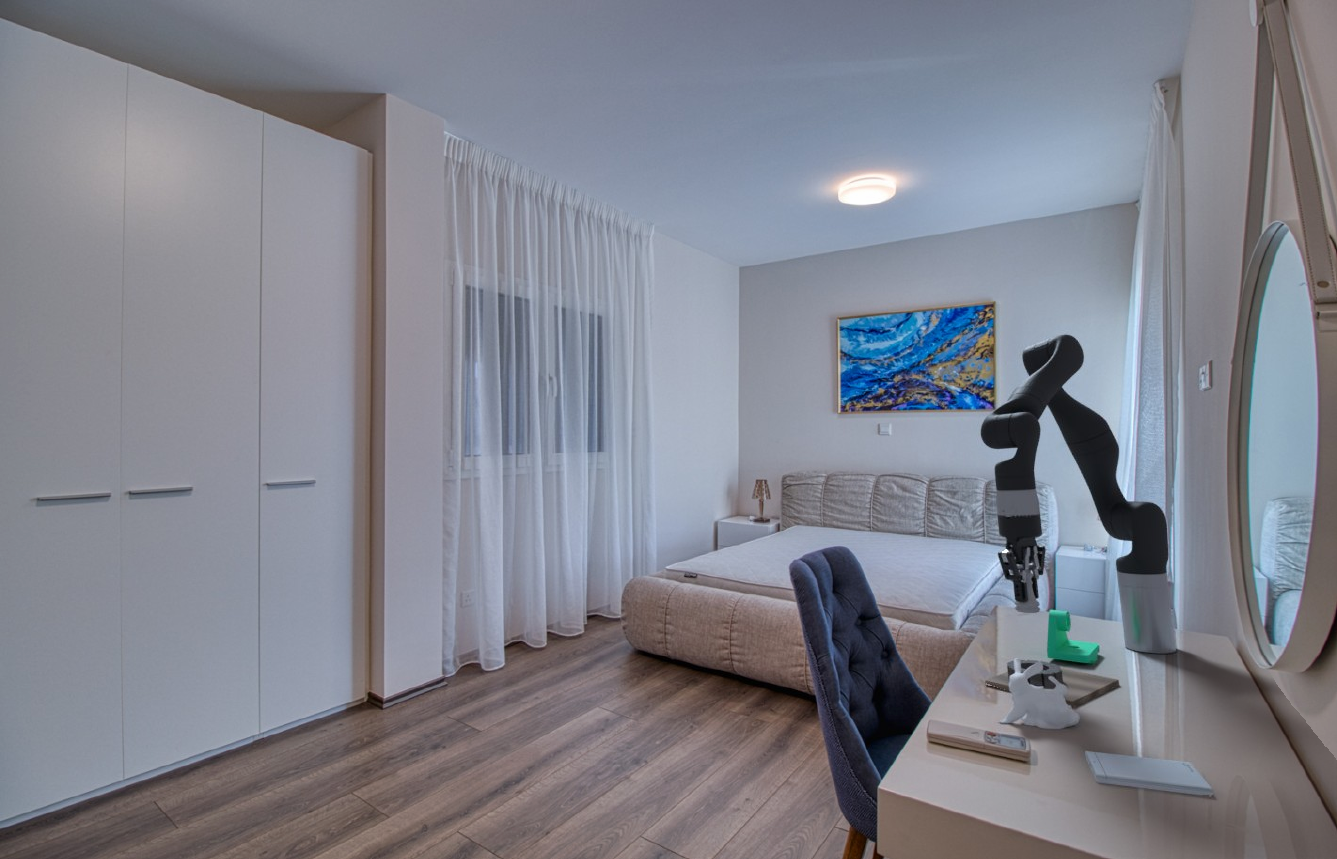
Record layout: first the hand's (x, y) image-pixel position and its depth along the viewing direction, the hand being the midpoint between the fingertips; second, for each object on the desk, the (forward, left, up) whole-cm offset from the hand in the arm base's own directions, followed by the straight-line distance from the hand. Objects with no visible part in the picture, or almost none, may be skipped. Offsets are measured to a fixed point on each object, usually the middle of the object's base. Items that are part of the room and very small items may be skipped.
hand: (1026, 599), depth 123 cm
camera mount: (-23, -3, -17) cm, 29 cm away
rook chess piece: (0, 0, -2) cm, 2 cm away
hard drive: (+26, +28, -17) cm, 42 cm away
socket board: (-2, +2, -16) cm, 17 cm away
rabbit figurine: (+17, +9, -17) cm, 26 cm away
